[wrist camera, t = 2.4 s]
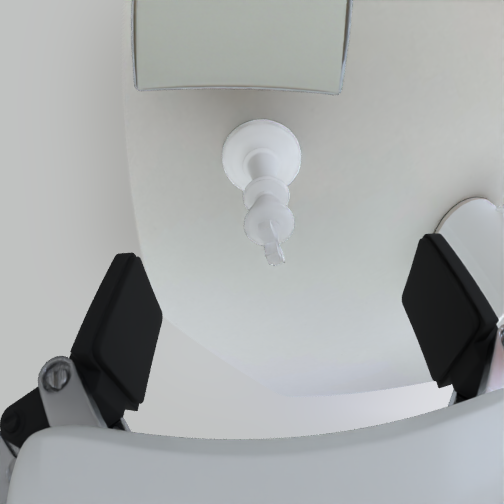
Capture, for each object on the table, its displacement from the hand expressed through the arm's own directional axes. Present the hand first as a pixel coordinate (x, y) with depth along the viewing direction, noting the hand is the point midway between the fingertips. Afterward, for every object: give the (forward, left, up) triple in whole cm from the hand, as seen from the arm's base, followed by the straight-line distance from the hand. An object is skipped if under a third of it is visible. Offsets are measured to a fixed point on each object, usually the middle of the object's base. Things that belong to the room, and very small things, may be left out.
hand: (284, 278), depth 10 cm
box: (-6, +6, -11) cm, 14 cm away
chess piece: (0, 0, -11) cm, 11 cm away
